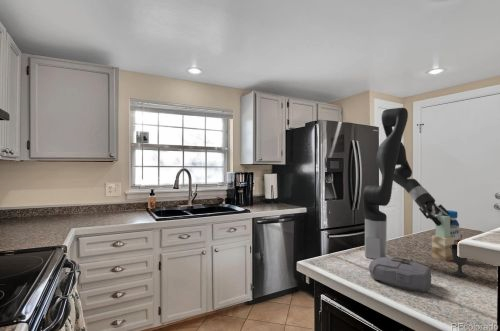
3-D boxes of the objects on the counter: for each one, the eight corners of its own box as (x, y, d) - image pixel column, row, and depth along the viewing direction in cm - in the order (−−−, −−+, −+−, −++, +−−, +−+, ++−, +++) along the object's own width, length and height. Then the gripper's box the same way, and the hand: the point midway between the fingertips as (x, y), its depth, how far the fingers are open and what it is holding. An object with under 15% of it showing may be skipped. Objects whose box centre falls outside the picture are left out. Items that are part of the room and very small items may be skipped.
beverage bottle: (458, 249, 137) (458, 210, 138) (460, 253, 130) (460, 212, 130) (438, 246, 142) (438, 209, 142) (439, 250, 135) (439, 211, 135)
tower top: (454, 248, 121) (454, 237, 121) (445, 249, 119) (445, 238, 119) (440, 245, 127) (440, 234, 127) (431, 246, 125) (431, 235, 125)
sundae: (466, 272, 106) (466, 234, 106) (474, 278, 99) (474, 238, 100) (446, 270, 108) (446, 233, 108) (453, 276, 101) (453, 237, 102)
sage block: (450, 237, 122) (450, 216, 122) (444, 238, 121) (444, 217, 121) (441, 235, 126) (441, 215, 126) (435, 236, 124) (435, 215, 124)
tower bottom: (454, 259, 121) (453, 248, 121) (445, 261, 119) (445, 249, 119) (440, 255, 127) (440, 245, 127) (431, 257, 125) (431, 246, 125)
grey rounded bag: (433, 283, 96) (374, 269, 108) (433, 259, 96) (374, 248, 109) (428, 298, 84) (362, 280, 97) (427, 271, 84) (362, 257, 97)
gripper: (416, 192, 128) (441, 220, 117) (436, 191, 133) (462, 218, 122) (406, 202, 133) (429, 230, 122) (426, 201, 138) (449, 228, 127)
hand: (446, 224), depth 122 cm, fingers open, 8 cm apart
